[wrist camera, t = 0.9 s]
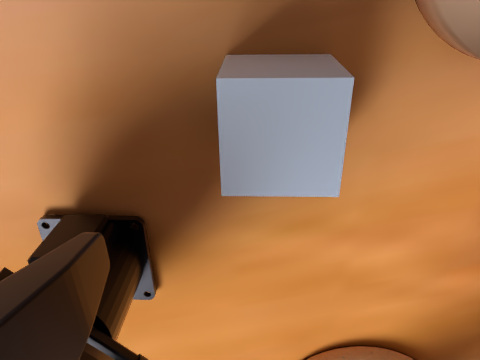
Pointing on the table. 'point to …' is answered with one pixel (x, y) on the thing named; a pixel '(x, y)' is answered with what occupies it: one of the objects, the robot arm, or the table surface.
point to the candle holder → (360, 354)
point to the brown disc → (454, 22)
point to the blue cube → (282, 124)
